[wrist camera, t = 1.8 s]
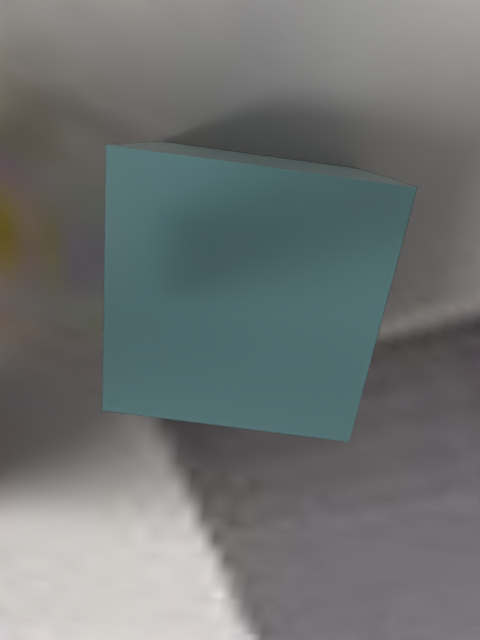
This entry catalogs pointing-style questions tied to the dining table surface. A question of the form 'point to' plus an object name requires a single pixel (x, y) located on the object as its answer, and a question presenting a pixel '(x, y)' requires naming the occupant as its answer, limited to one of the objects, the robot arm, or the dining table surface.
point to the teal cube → (244, 286)
